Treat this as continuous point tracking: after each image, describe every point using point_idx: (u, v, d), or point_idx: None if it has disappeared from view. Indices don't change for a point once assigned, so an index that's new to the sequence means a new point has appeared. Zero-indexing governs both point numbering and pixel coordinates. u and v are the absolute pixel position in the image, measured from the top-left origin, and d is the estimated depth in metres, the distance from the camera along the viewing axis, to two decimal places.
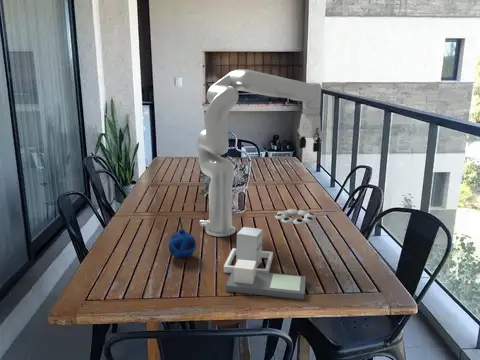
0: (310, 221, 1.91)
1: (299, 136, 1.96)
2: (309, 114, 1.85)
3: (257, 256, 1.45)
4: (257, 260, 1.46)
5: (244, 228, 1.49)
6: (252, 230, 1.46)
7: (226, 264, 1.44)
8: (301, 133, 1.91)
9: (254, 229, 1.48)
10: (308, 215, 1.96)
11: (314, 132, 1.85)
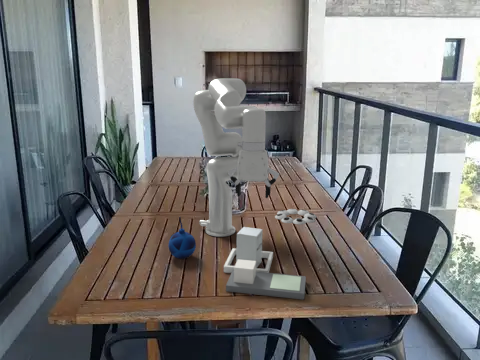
0: (310, 221, 1.91)
1: (233, 181, 1.43)
2: (259, 151, 1.37)
3: (257, 256, 1.45)
4: (257, 260, 1.46)
5: (244, 228, 1.49)
6: (252, 230, 1.46)
7: (226, 264, 1.44)
8: (244, 177, 1.40)
9: (254, 229, 1.48)
10: (308, 215, 1.96)
11: (267, 173, 1.39)
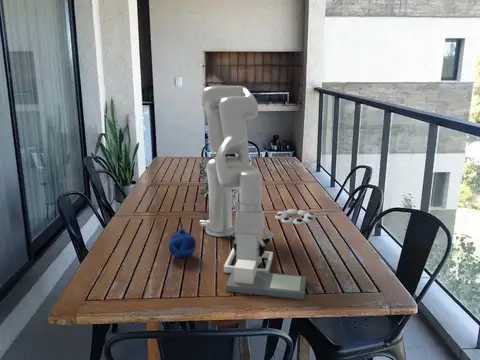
0: (310, 221, 1.91)
1: (232, 240, 1.47)
2: (255, 212, 1.41)
3: (257, 256, 1.45)
4: (257, 260, 1.46)
5: None
6: None
7: (226, 264, 1.44)
8: None
9: None
10: (308, 215, 1.96)
11: (263, 233, 1.43)
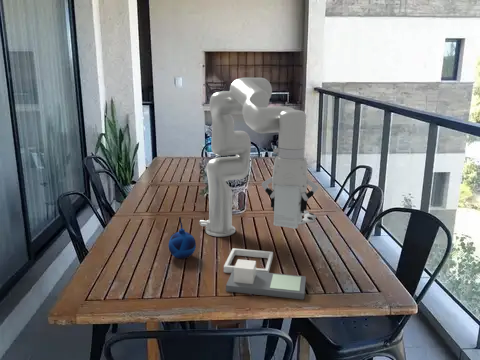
0: (310, 221, 1.91)
1: (268, 194, 1.26)
2: (298, 158, 1.20)
3: (299, 212, 1.24)
4: (298, 217, 1.24)
5: None
6: None
7: (226, 264, 1.44)
8: None
9: None
10: (308, 215, 1.96)
11: None
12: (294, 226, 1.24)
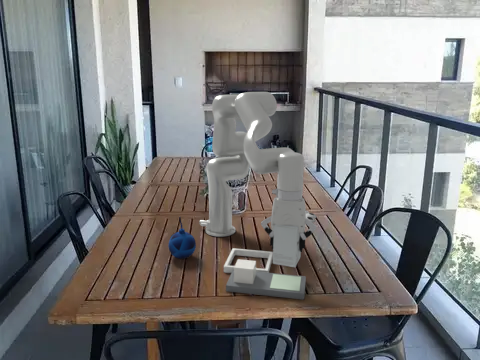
0: None
1: (268, 232, 1.29)
2: (297, 200, 1.23)
3: (297, 251, 1.27)
4: (297, 255, 1.27)
5: None
6: None
7: (226, 264, 1.44)
8: None
9: None
10: (308, 215, 1.96)
11: (305, 224, 1.25)
12: (293, 265, 1.27)
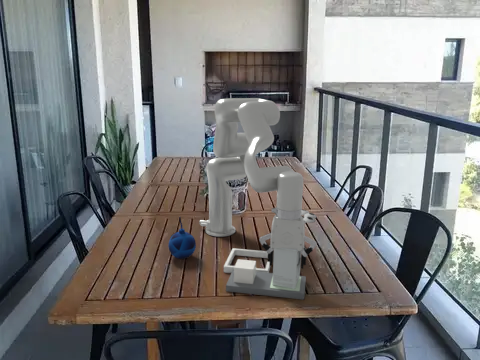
0: (310, 221, 1.91)
1: (265, 249, 1.31)
2: (296, 219, 1.24)
3: (297, 273, 1.29)
4: (296, 277, 1.29)
5: None
6: None
7: (226, 264, 1.44)
8: (278, 246, 1.27)
9: None
10: (308, 215, 1.96)
11: (304, 242, 1.27)
12: (292, 286, 1.29)
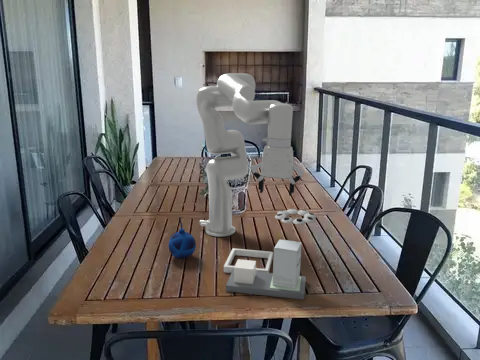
0: (310, 221, 1.91)
1: (256, 177, 1.40)
2: (285, 147, 1.33)
3: (297, 273, 1.29)
4: (296, 277, 1.29)
5: (281, 241, 1.32)
6: (290, 244, 1.30)
7: (226, 264, 1.44)
8: (268, 173, 1.37)
9: (292, 242, 1.32)
10: (308, 215, 1.96)
11: (292, 170, 1.36)
12: (292, 286, 1.29)
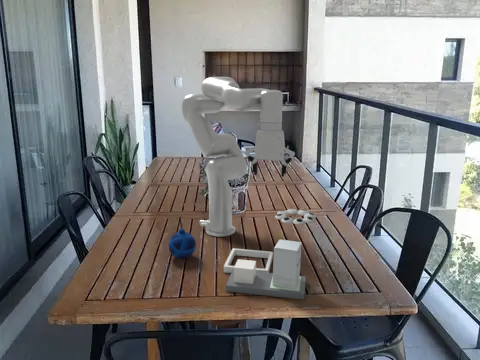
0: (310, 221, 1.91)
1: (250, 160, 1.49)
2: (276, 130, 1.43)
3: (297, 273, 1.29)
4: (296, 277, 1.29)
5: (281, 241, 1.32)
6: (290, 244, 1.30)
7: (226, 264, 1.44)
8: (261, 156, 1.46)
9: (292, 242, 1.32)
10: (308, 215, 1.96)
11: (284, 152, 1.45)
12: (292, 286, 1.29)
